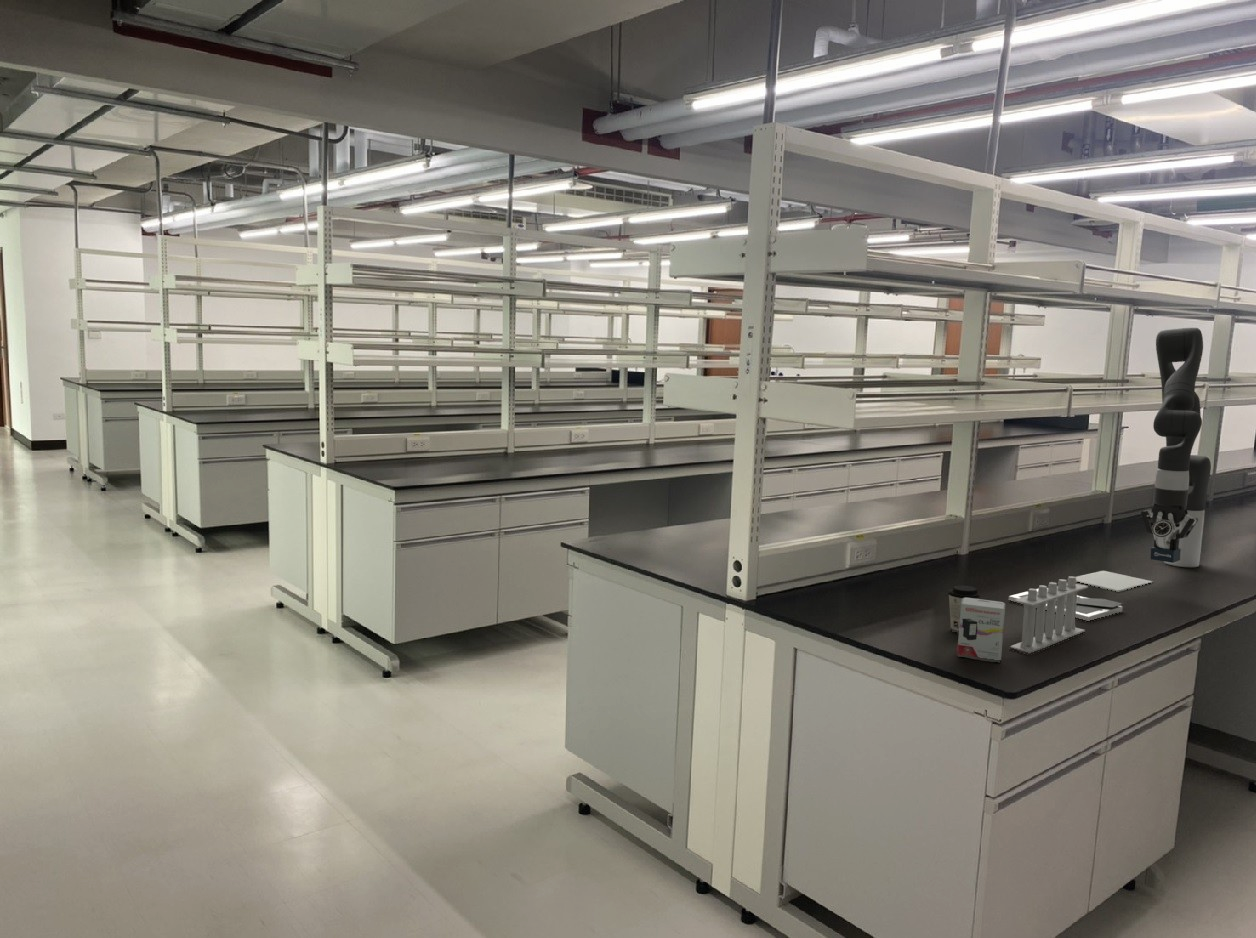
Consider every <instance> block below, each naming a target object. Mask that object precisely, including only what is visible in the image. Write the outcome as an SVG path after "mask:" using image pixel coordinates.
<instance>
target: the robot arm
mask: <svg viewBox="0 0 1256 938" xmlns="http://www.w3.org/2000/svg"><path fill="white" fill-rule="evenodd" d="M1203 339H1204V338H1203V333H1202V331H1201V329H1200V328H1197V327H1184V328H1183V327H1182V328H1172V329H1164V330H1160V331H1159V332H1157V335H1156V337H1155V349H1156V356H1157V362H1158V368H1159V376H1160V384H1161V401H1162V404H1161V406H1160V408H1159V409H1158V411H1157V413H1156V415H1155V417H1154V421H1153V430H1154V432H1155V434H1157V435H1158V436H1159V437H1161V438H1163V437H1164V438H1165V443H1166V446H1163V447H1161V448H1160V449H1159V452H1158V461H1157V470H1156V474H1155V481H1154V492H1153V505H1152V506H1151V509H1146V510H1142V511H1141V512H1140V515H1141V517H1142V521H1143V524H1144V526H1145V529H1146V532H1147V533H1149V534H1153V532H1152V526H1153V525H1154V524H1155V523H1156V522H1157V521H1160V520H1169V522H1170V523H1171V524H1172V525H1173V528H1174V530H1175V533H1174V532H1173V533H1172V535H1171V538H1172V539H1170V550H1178V549H1179V548H1181V552H1180V560H1179V561H1176V562H1174V563H1171V562H1165V561H1163V563H1164V564H1167V565H1170V566H1174V567H1182V568H1197V567H1199V566H1200V559H1201V551H1202V543H1203V542H1202V541H1203V531H1204V523H1205V513H1206V511H1205V510H1206V503H1207V496H1208V488H1209V481H1210V476H1211V471H1212V469H1211V467H1212V466H1211V465H1212V464H1211V460H1210V458H1209V457H1208V456H1205V455H1193V454H1192V450H1193V448H1194V444H1195V442H1196V440H1197V438H1198V435H1199V433H1200V432H1201V428H1202V426H1203V419H1202V415H1201V414H1202V413H1201V401H1200V398H1199V395H1198V394H1197V392H1196V391H1195V390H1196V389H1195V388H1196V384H1197V383H1196V382H1197V378H1198V373H1199V370H1200V367H1201V362H1202V358H1203V353H1204V340H1203ZM1173 363H1182V365H1181V366H1180V367H1178V368H1177V369H1176V368H1175V366H1174V364H1173ZM1189 487H1192V489H1191V491H1190V492H1189ZM1153 516H1154V518H1155V519H1156V520H1155V522H1154V520H1153ZM1153 539H1154V538H1153ZM1153 547H1157V548H1159V547H1158V546H1157V544H1156V540H1155V539H1154V540H1153ZM1160 549H1161V548H1160Z"/></svg>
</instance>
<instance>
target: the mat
mask: <svg viewBox="0 0 1256 938" xmlns="http://www.w3.org/2000/svg"><path fill="white" fill-rule="evenodd" d="M1075 577H1076V583H1077V582H1080V583H1079V584H1081V583H1084V584H1083V585H1085V584H1088V585H1087V586H1090V585H1091V586H1090V587H1094V586H1095V587H1094V588H1098V587H1100V588H1099V589H1103V590H1107V589H1108V590H1107V591H1111V590H1112V591H1111V592H1115V591H1116V593H1119V592H1124V591H1127V589H1128V590H1132V589H1135V588H1134V587H1136V588H1138V587H1137V586H1140V587H1142V585H1143V586H1146V585H1145V584H1147V585H1149V584H1148V583H1151V584H1153V583H1152V582H1154V581H1153V580H1147V579H1144V578H1138V577H1134V576H1129V575H1125V574H1120V573H1116V572H1112V571H1107V570H1099V571H1096V572H1091V573H1087V574H1083V575H1078V576H1075ZM1131 588H1132V589H1131Z"/></svg>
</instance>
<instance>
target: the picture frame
mask: <svg viewBox="0 0 1256 938" xmlns="http://www.w3.org/2000/svg"><path fill="white" fill-rule="evenodd" d="M1035 589H1036V590H1037V592H1038V590H1039V589H1038V588H1035ZM1047 589H1048V587H1047ZM1028 591H1029V590H1028ZM1028 591H1024V592H1019V593H1016V594H1012V595H1008V600H1011V601H1014V600H1015V599H1019V598H1022V597H1025V596H1028ZM1066 596H1067V595H1066ZM1123 604H1124V603H1123V602H1118V601H1115V600H1110V599H1105V598H1093V597H1092V598H1089V597H1085V596H1081V595H1078V594H1077V604H1076V615H1075V617H1076V618H1079V619H1083V620H1086V621H1090V620H1094V619H1097V618H1100V619H1102V618H1101V617H1104V618H1106V617H1105V616H1107V617H1110V616H1113V615H1116V614H1115V613H1117V614H1120V613H1123V609H1124V606H1123ZM1056 605H1057V599H1056ZM1036 608H1037V605H1036ZM1065 608H1066V599H1065ZM1046 610H1047V602H1046ZM1055 612H1056V606H1055ZM1119 612H1120V613H1119ZM1112 614H1113V615H1112ZM1064 615H1065V611H1064ZM1109 615H1110V616H1109ZM1097 620H1098V619H1097ZM1086 621H1085V622H1086ZM1094 621H1095V620H1094Z"/></svg>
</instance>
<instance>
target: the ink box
mask: <svg viewBox="0 0 1256 938" xmlns="http://www.w3.org/2000/svg"><path fill="white" fill-rule="evenodd" d="M1005 613H1006V603H1005V602H1003V601H997V600H991V599H990V600H988V599H983V598H982V599H980V598H979V599H974V598H962V601H961V613H960V625H959V633H958V640H957V649H956V650H957V651H956V652H957V653H956V655H957V654H960V655H966V656H974V657H980V658H987V659H994V660H1001V661H1002V653H1003V638H1004V627H1005V615H1006V614H1005Z"/></svg>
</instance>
